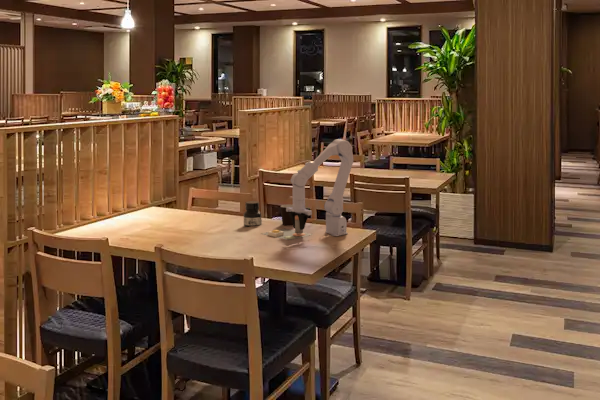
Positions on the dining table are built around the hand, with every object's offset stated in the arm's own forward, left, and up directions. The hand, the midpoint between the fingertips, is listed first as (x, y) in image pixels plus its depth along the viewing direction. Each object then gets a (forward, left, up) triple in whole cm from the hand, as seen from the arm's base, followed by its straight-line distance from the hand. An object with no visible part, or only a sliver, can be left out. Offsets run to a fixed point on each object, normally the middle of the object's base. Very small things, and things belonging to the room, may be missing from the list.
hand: (299, 228), depth 294 cm
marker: (0, 0, -2) cm, 2 cm away
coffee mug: (+20, -15, -4) cm, 25 cm away
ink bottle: (+33, -1, -4) cm, 33 cm away
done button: (+7, +8, -2) cm, 11 cm away
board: (+5, +3, -4) cm, 7 cm away
